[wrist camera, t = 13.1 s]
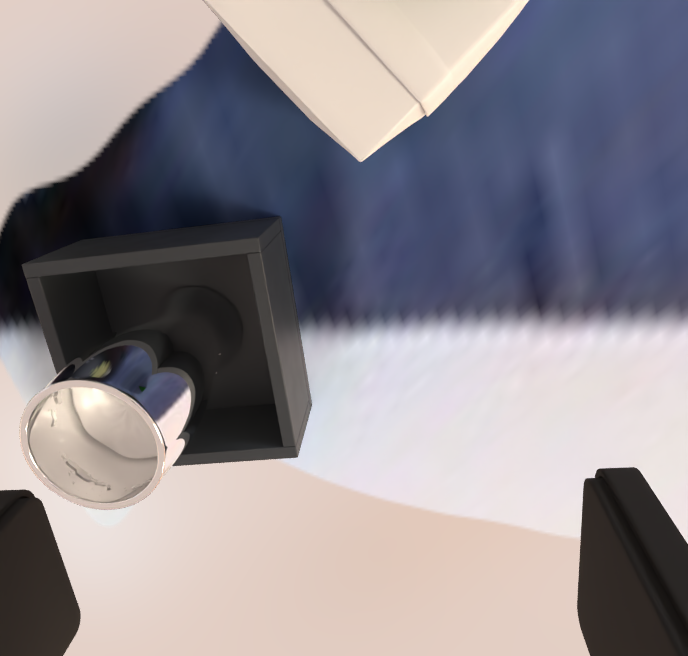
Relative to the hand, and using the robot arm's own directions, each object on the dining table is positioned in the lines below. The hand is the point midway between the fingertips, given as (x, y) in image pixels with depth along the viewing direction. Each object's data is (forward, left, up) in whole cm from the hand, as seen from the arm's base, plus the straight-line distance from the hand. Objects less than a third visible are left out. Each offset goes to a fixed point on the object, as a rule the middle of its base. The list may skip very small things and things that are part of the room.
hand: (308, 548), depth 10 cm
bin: (+5, -12, -29) cm, 32 cm away
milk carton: (-11, +2, -29) cm, 31 cm away
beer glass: (+5, -12, -28) cm, 31 cm away
